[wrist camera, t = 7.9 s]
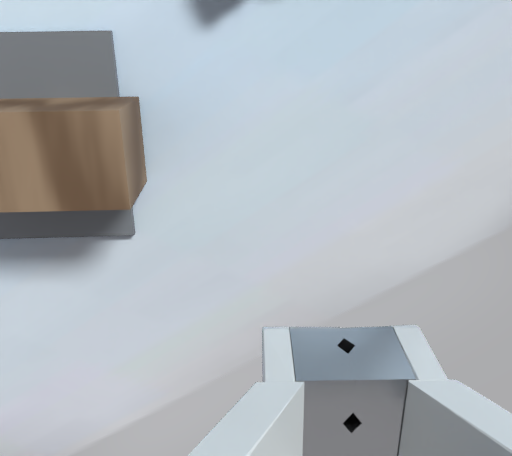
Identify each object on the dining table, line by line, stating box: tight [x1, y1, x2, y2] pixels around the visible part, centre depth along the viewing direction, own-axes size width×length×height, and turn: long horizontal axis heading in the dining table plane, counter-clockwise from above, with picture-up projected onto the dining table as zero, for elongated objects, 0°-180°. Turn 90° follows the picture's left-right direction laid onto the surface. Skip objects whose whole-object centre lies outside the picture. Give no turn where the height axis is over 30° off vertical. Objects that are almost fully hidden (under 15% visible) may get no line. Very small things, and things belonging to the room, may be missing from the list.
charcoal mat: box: [0, 31, 135, 239], centre depth 29 cm, size 10×12×1 cm
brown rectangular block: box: [0, 97, 147, 212], centre depth 26 cm, size 5×5×9 cm
